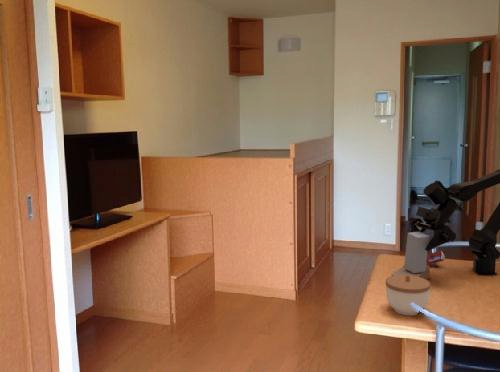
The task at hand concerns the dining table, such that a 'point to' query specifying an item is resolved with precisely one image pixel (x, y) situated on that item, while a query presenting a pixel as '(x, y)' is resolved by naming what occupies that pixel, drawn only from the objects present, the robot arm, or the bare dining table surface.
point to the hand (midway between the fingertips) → (417, 247)
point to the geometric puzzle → (434, 257)
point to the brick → (406, 272)
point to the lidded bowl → (407, 293)
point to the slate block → (416, 252)
